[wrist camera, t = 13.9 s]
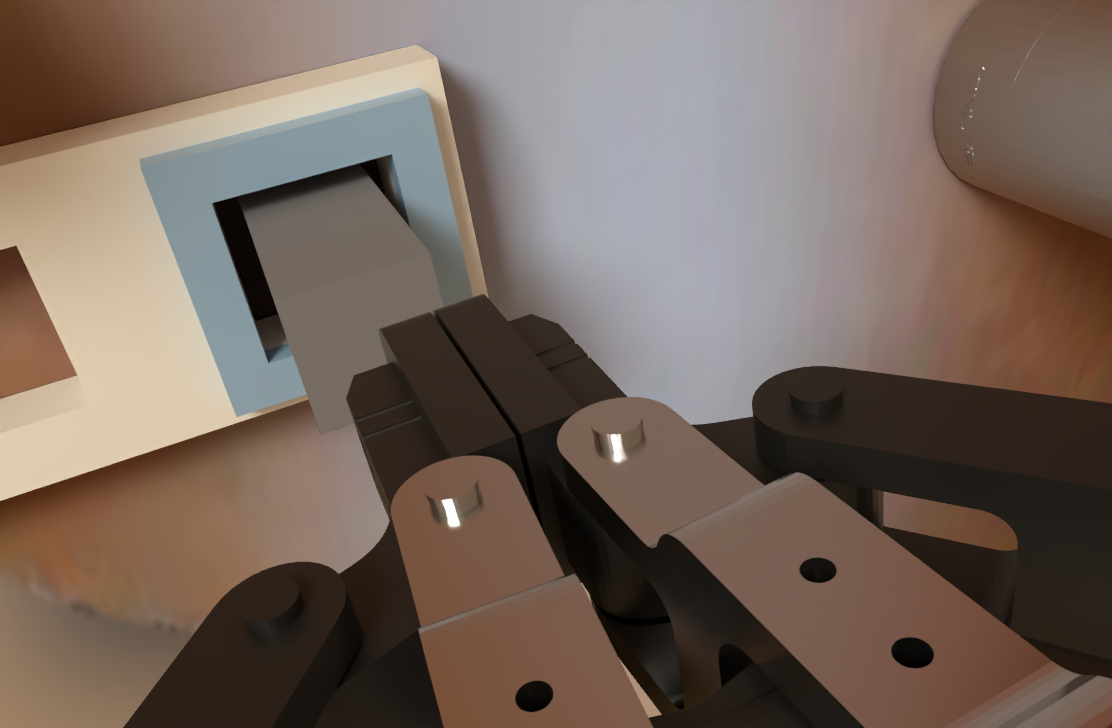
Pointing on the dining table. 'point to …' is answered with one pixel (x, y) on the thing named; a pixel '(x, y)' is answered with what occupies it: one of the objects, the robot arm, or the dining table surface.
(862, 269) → the dining table surface
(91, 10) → the dining table surface
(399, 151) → the socket block
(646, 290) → the dining table surface
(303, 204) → the plug
